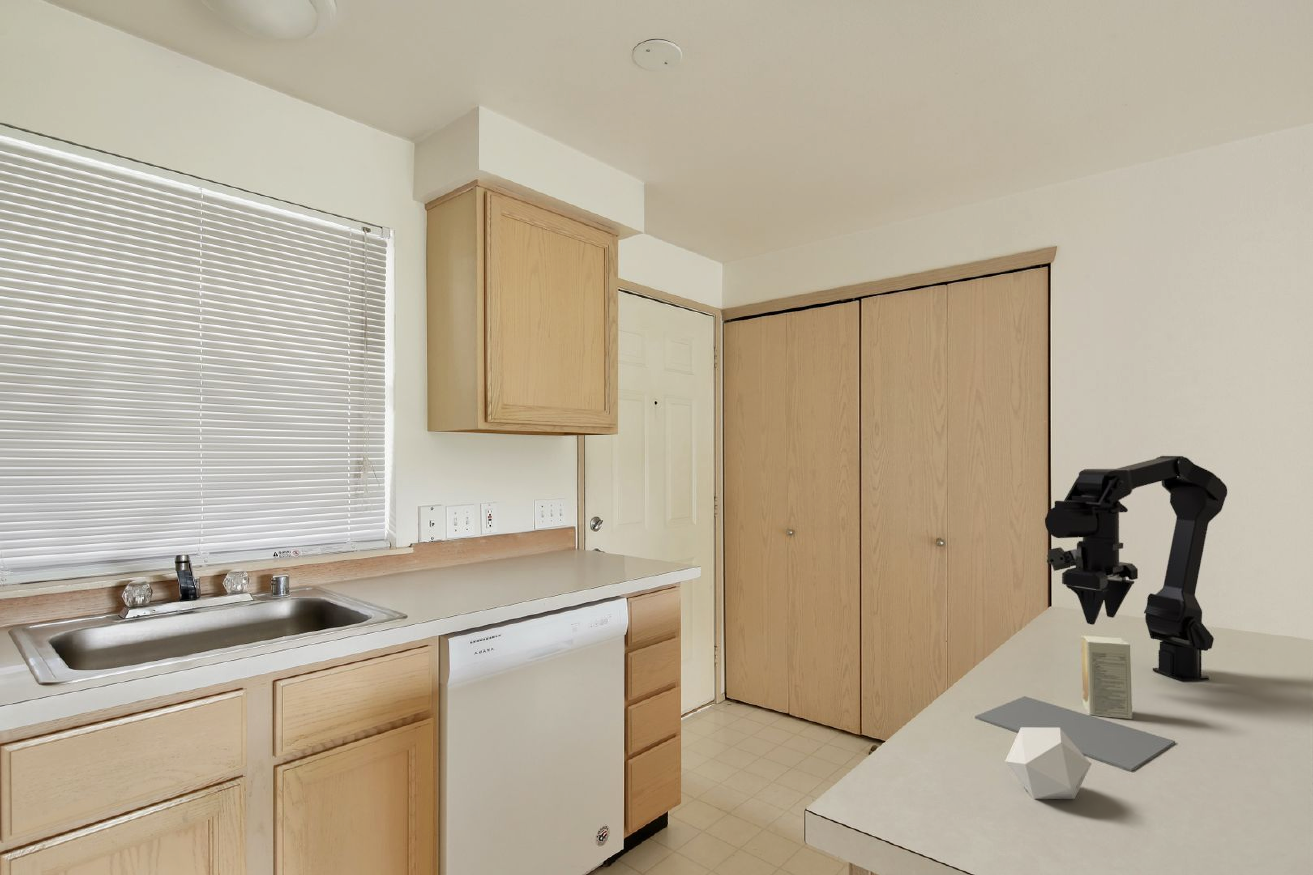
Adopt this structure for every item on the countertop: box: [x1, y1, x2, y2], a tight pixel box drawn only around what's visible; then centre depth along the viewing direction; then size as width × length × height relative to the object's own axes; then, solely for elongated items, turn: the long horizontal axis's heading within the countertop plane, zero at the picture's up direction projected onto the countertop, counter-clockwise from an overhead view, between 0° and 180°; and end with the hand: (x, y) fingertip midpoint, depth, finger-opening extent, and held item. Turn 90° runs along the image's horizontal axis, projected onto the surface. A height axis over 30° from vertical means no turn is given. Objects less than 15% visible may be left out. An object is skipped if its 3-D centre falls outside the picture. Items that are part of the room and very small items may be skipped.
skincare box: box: [1080, 635, 1133, 720], centre depth 113 cm, size 6×4×12 cm
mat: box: [974, 696, 1176, 772], centre depth 106 cm, size 16×22×1 cm
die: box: [1004, 727, 1092, 800], centre depth 86 cm, size 8×9×10 cm
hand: (1100, 620), depth 126 cm, fingers open, 9 cm apart
